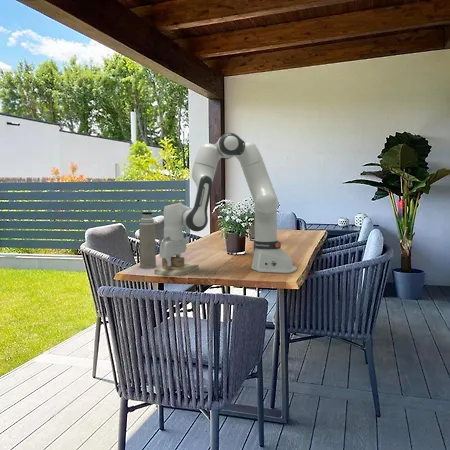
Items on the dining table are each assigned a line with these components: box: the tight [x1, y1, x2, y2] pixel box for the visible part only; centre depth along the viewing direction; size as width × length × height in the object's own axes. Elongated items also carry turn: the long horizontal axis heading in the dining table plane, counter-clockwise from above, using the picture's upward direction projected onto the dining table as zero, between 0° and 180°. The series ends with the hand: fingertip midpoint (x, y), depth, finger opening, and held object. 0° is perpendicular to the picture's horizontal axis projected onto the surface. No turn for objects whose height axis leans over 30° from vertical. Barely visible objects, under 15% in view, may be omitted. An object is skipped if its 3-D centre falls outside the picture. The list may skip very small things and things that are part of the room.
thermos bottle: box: [138, 211, 157, 269], centre depth 229 cm, size 8×8×28 cm
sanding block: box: [161, 256, 185, 270], centre depth 216 cm, size 9×6×5 cm, turn 68°
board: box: [154, 263, 200, 277], centre depth 219 cm, size 14×19×2 cm
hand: (173, 264), depth 216 cm, fingers closed on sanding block, 5 cm apart
